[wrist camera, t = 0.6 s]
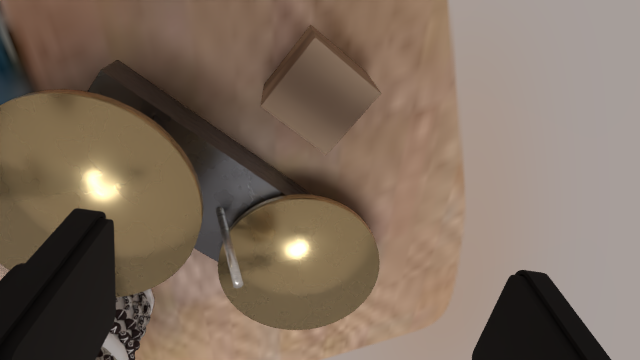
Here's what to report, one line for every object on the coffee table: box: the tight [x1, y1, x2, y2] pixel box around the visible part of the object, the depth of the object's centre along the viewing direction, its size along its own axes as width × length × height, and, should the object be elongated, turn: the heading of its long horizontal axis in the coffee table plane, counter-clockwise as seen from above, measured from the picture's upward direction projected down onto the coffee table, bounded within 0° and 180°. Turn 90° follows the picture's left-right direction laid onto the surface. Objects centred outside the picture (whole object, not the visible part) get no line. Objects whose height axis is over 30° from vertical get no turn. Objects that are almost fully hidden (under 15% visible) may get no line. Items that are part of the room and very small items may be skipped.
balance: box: [0, 60, 379, 330], centre depth 35 cm, size 14×31×12 cm, turn 50°
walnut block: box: [261, 25, 381, 155], centre depth 34 cm, size 6×6×6 cm
